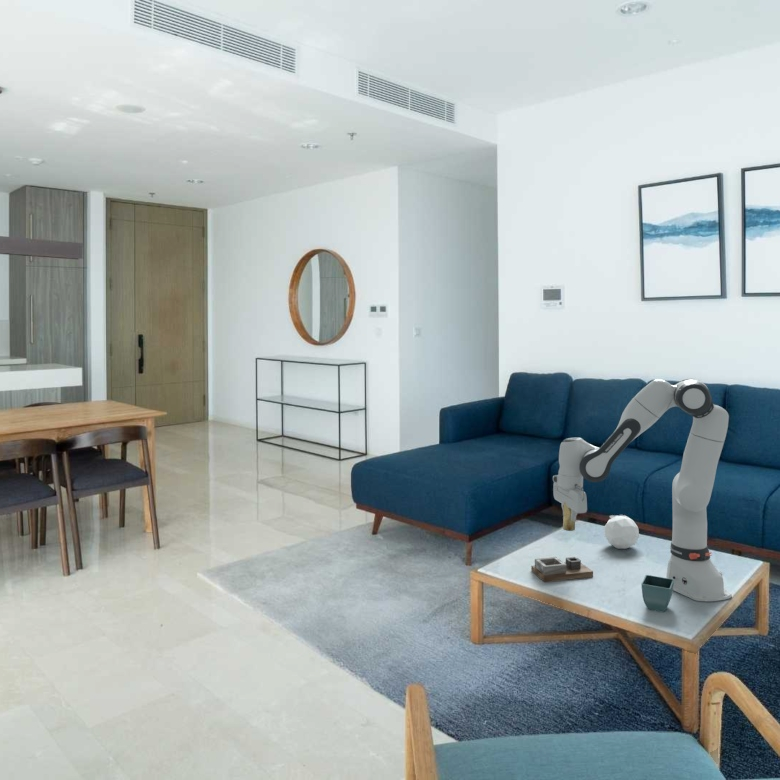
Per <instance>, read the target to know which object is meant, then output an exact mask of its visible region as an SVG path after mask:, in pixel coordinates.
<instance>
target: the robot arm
mask: <svg viewBox="0 0 780 780" xmlns="http://www.w3.org/2000/svg"><path fill="white" fill-rule="evenodd" d="M674 407H677V408H679V409H681V411H683V412H685V413H687V414H688V415H690V416H691V417H692V425H691V428H690V431H689V433H688V434H689V435H688V437H687V442H686V444H685V447H684V450H683V455H682V460H681V467H680V471H679V472H678V473H677V474H676V475H675V476H674V478H673V480H672V484H671V486H672V488H671V492H672V493H671V495H672V496H671V498H672V499H671V502H672V504H671V505H672V506H671V507H672V509H671V510H672V533H671V534H672V535H671V537H672V539H671V542H670V546H669V547H670V548H669V549H670V553H671V555H670V559H669V560H668V563H667V570H666V577H665V578H669V579H674V585H673V591H674V592H676V593H679V594H681V595H682V596H685V597H687V598H690V599H691V600H693V601H696V602H719V601H725V600H728V599H730V598H732V593H731V592H730V591H729V590H728V589H726V588H725V585H724V577H723V573H722V572H721V571H719V570H718V569H717V567H716V566H715V564H714V563H713V561H712V560H711V556H713V553H712V552H710V549H709V546H708V545H707V544H708V541H707V540H708V517H707V515H708V514H707V512H708V511H707V507H708V506H709V503H710V500H711V496H712V493H713V488H714V483H715V478H716V475H717V467H718V464H719V460H720V457H721V454H722V450H723V448H724V444H725V440H726V437H727V433H728V428H729V419H730V415H729V413H728V411H727V410H726V409H725V408H723V407H722V406H719V405H718V404H714V402H713V399H712V394H711V392H710V389H709V388H708V386H707V385H706V384H705V383H704V382H703V381H700V380H699V379H695V378H687V379H683V380H680V381H678V382H674V383H670V382H668V381H667V380H665V379H661V378H656V379H652V380H651V382H649V383H648V384H647V385H645V386H644V387H643V388H642V389H640V391H638V393H637V394H636V395H634V396H633V398H632V399H631V400H630V401H629V402H628V404H627V405H626V407H625V408H624V410H623V411H622V414H621V416H620V420H619V421H618V424H617V427H616V429H615V430H614V431H613V433H612V434H611V435H610V436H609V437H608V438H607V439H606V440H605V442H603V444H601V446H600V447H598V446H595V445H593V444H591V443H589V442H587V441H586V440H584V438H582V437H568V438H567V437H566V438H565V439H563V440H562V441H561V443H560V445H559V452H558V464H559V469H558V472H557V473H558V474H555V475H553V476H552V481H553V484H552V485H553V488H552V491H553V492H552V493H553V498H554V500H555V501H557V502H559V503H561V505H560V506H561V509H562V516H564V502H565V503H566V505H567V507H568V508H570V509H571V512H572V513H571V515H570V520H571V521H575V522H576V521H577V516H578V514H586V513H587V511H588V500H587V493H586V492H585V491H584V479H585V480H586V481H588V482H592V483H600V482H602V481H605V479H607V477H608V476H609V475H610V471H611V468H612V464H613V463H614V462H615V461H616V459H617V458H618V457H619V455H620V454H621V453H622V452H624V450H625V449H626V448H627V447H628V445H629V444H631V443H632V442H633V441H634V440H635V439H636V438H637V437H639V436H640V435H641V434H643V433H644V432H645V431H647V430H648V429H650V428H651V427H652V426H653V425H654V424H655V423H657V421H658V420H660V418H661V417H662V416H663V415H664V414H665V413H666V412H667V411H668V410H670V409H671V408H674Z"/></svg>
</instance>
